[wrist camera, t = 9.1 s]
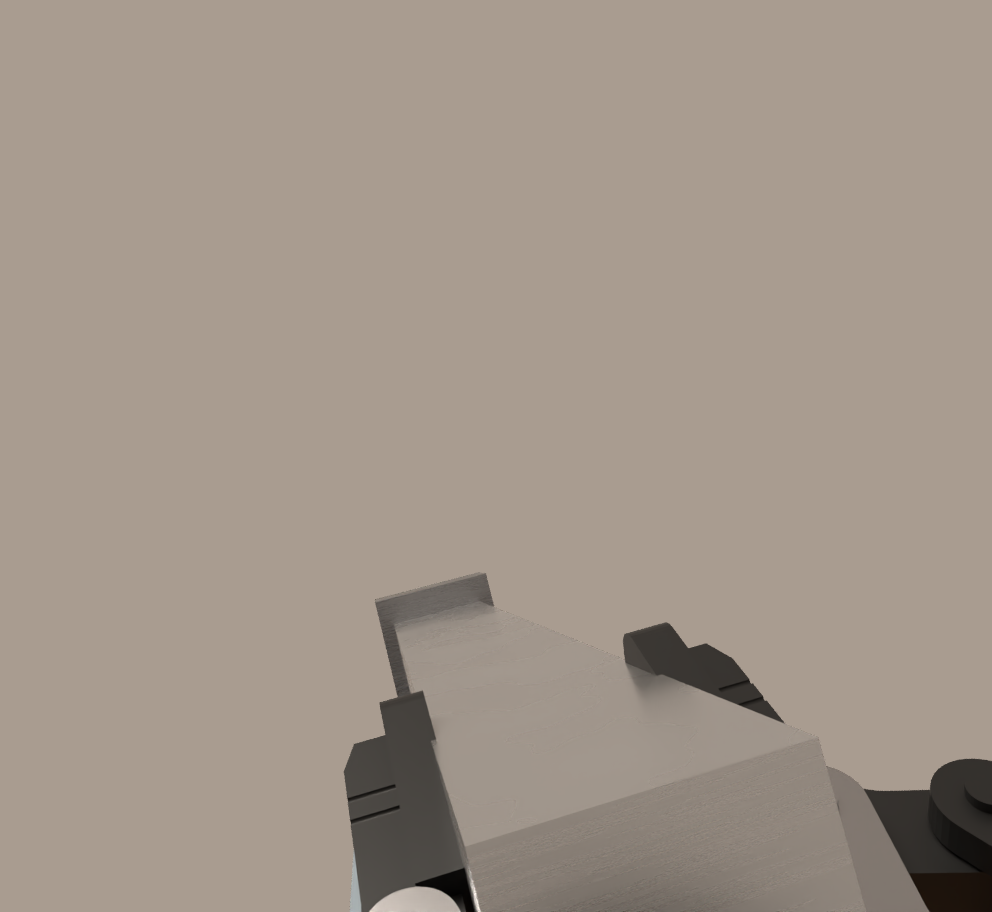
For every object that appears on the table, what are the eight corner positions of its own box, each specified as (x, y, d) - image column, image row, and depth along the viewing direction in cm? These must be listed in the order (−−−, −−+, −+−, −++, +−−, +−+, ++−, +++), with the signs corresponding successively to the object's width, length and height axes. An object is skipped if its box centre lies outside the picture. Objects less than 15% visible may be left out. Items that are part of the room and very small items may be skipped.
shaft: (967, 1091, 8) (836, 621, 9) (507, 1273, 8) (383, 752, 8) (504, 676, 38) (478, 572, 38) (400, 705, 37) (375, 599, 38)
